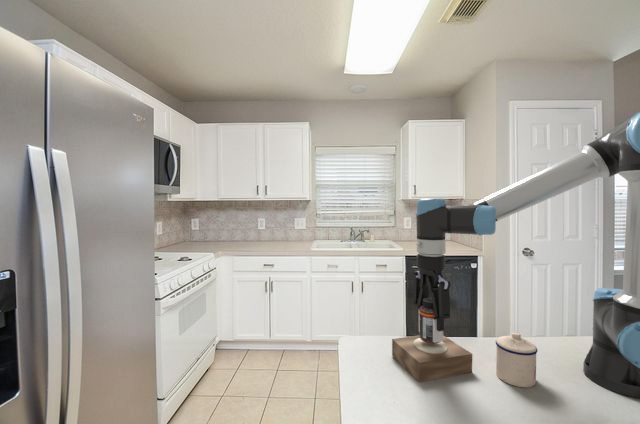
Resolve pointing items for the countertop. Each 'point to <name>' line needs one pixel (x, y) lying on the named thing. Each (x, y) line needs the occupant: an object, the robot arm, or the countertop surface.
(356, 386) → the countertop surface
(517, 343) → the cream ceramic oval pot
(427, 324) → the supplement bottle
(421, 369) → the walnut stand
